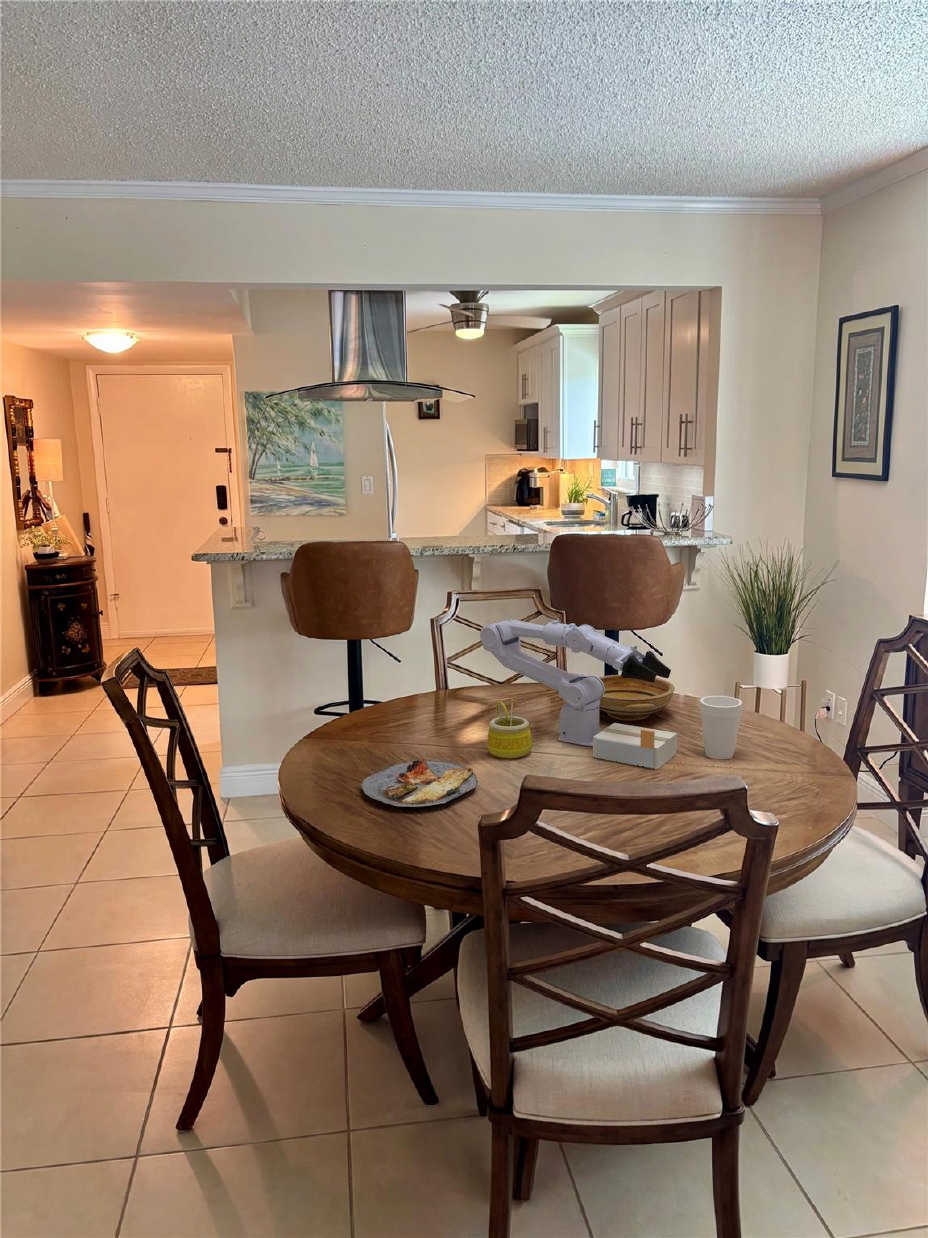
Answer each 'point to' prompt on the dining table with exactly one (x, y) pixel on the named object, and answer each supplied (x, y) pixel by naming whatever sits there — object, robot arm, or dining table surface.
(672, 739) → the carton
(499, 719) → the yellow plant pot
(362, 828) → the dining table surface
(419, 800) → the food plate
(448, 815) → the dining table surface
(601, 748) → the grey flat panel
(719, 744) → the foam cup
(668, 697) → the wooden bowl
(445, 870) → the dining table surface
